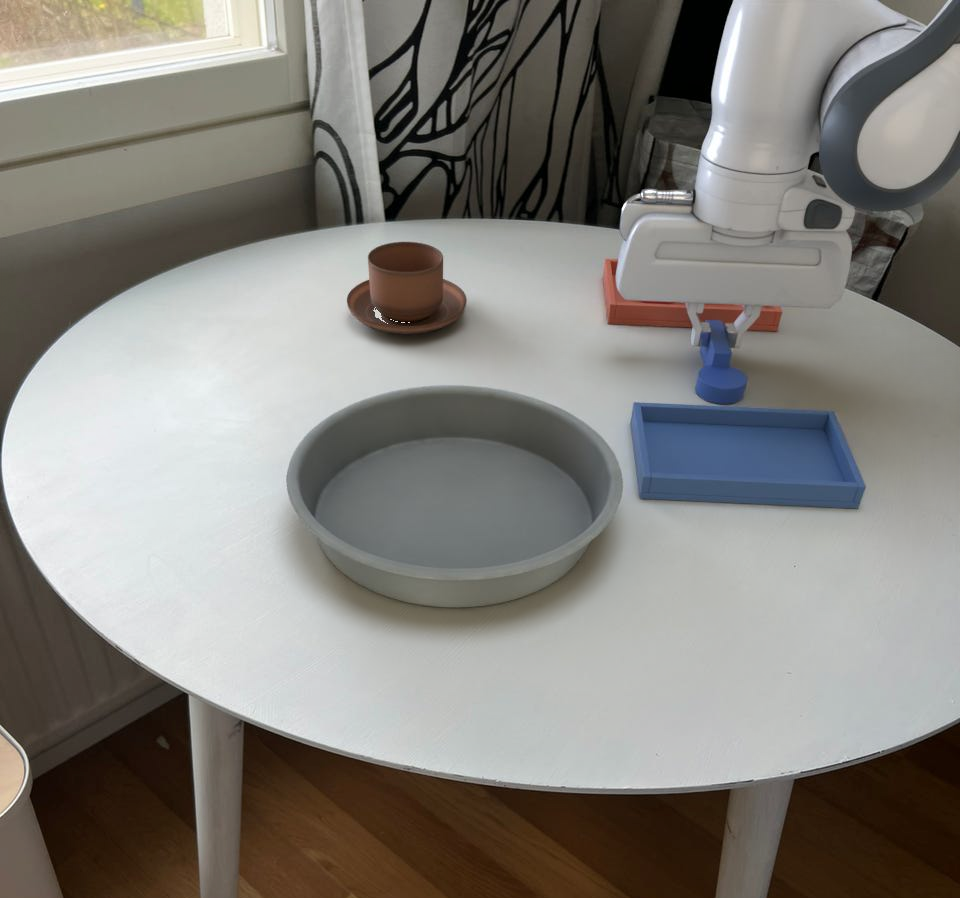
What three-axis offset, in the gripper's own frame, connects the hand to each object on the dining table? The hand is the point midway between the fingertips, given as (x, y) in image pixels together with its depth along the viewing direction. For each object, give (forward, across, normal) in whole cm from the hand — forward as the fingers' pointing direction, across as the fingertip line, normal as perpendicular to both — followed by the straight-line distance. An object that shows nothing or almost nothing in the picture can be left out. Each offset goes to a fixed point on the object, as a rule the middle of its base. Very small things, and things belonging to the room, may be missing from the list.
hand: (714, 344), depth 90 cm
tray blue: (+2, 0, -18) cm, 18 cm away
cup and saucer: (+2, -30, +6) cm, 31 cm away
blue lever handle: (+2, 0, -2) cm, 3 cm away
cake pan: (+2, -23, -26) cm, 35 cm away
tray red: (+2, -1, +12) cm, 13 cm away
